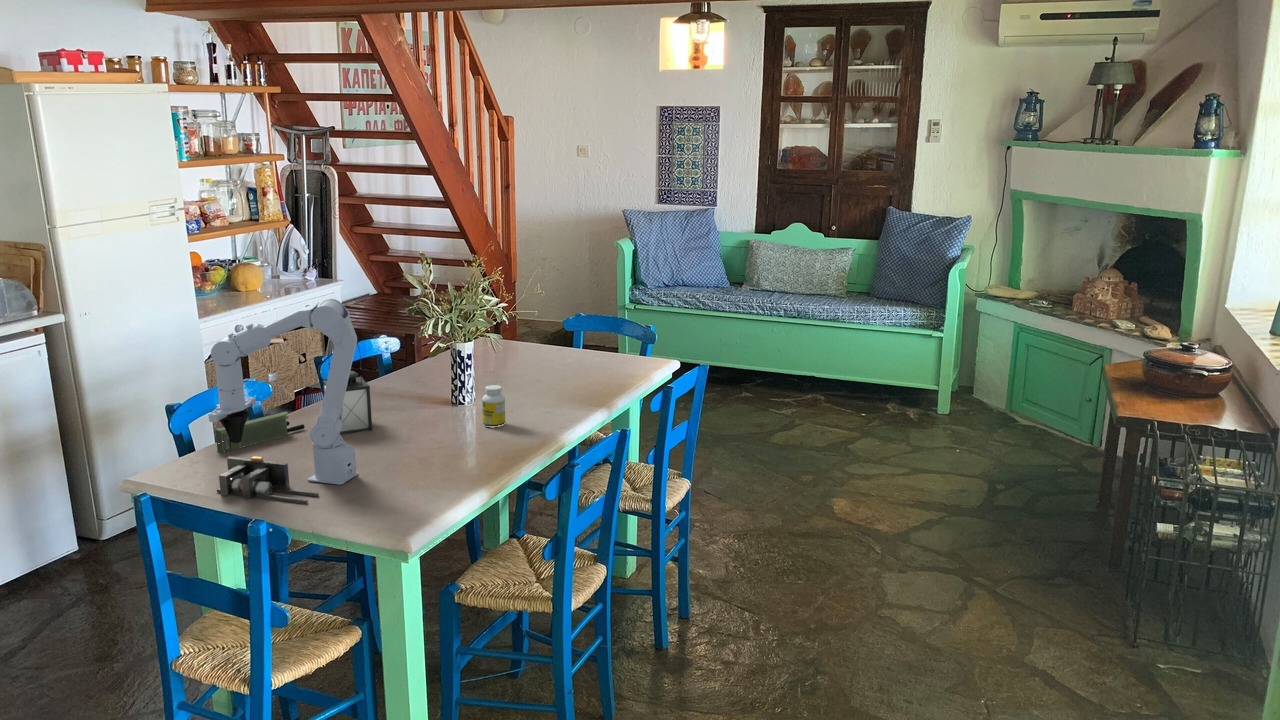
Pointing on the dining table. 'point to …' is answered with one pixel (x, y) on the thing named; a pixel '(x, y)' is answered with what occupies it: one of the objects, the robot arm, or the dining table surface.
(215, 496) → the dining table surface
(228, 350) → the robot arm
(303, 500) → the collar fixture
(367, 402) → the lantern
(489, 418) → the pill bottle
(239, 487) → the tube
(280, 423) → the handheld radio
